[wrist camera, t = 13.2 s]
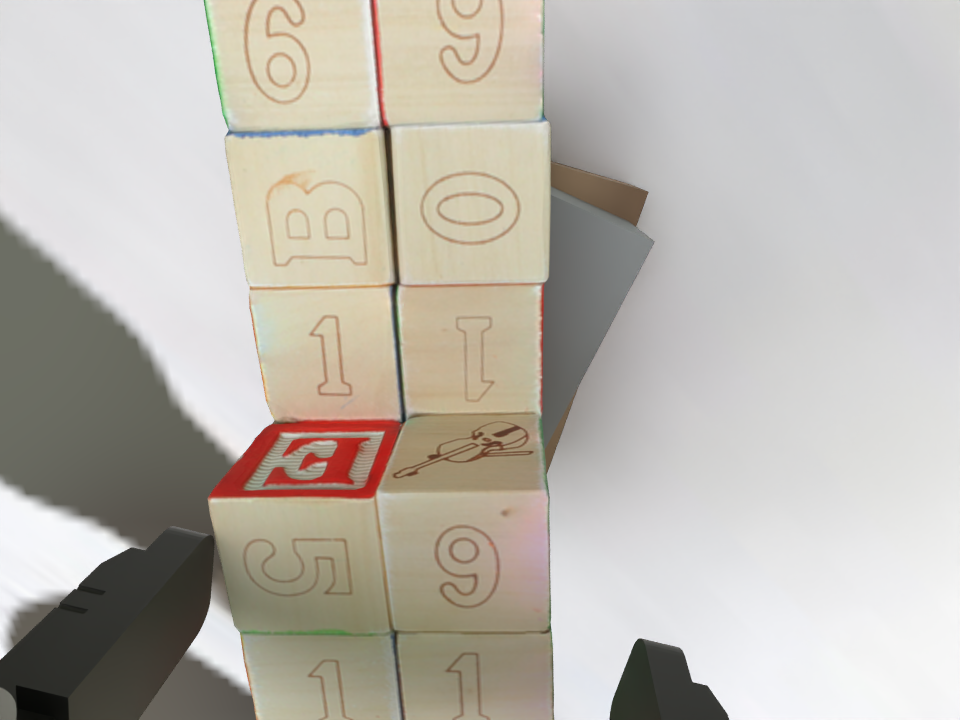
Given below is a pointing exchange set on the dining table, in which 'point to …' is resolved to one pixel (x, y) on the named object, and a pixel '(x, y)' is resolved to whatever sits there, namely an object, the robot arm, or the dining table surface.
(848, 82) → the dining table surface
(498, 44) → the stack of blocks
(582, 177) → the tower base block
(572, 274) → the tower top block
